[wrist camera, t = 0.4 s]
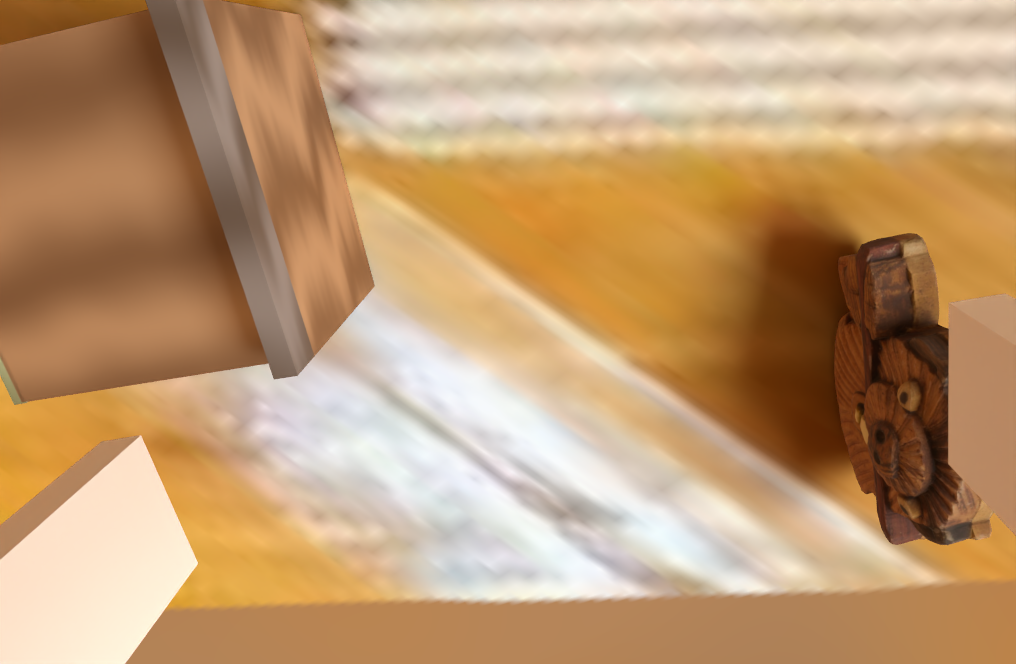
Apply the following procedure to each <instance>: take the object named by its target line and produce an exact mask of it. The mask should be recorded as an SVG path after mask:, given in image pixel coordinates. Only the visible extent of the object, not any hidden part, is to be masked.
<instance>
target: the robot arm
mask: <svg viewBox="0 0 1016 664" xmlns="http://www.w3.org/2000/svg"><path fill="white" fill-rule="evenodd" d="M948 464H949V465H950V466H951V467H952V469H953V470H954V471H955V472H956V473H957V474H958V475H959V476H960V477H961V478H962V479H963V480H964V481H965V482H966V483H967V484H968V485H969V487H970V488H971V489H972V490H973V491H974V492H975V493H976V494H977V495H978V496H979V497H980V498H981V499H982V500H983V501H984V502H985V504H986V505H987V506H988V507H989V508H990V509H991V510H992V511H993V512H994V513H995V514H996V515H997V516H998V517H999V518H1000V519H1001V520H1002V522H1003V523H1004V524H1005V525H1006V526H1007V527H1008V528H1009V529H1010V530H1011V531H1012V532H1013V533H1014V534H1015V535H1016V299H1015V298H1013V297H1011V296H1009V295H1007V294H1000V295H994V296H988V297H981V298H975V299H969V300H963V301H957V302H951V303H949V392H948ZM197 564H198V562H197V560H196V558H195V556H194V553H193V551H192V549H191V547H190V545H189V542H188V540H187V538H186V536H185V533H184V531H183V529H182V527H181V524H180V522H179V520H178V518H177V515H176V513H175V511H174V509H173V506H172V504H171V502H170V500H169V497H168V495H167V493H166V491H165V488H164V486H163V484H162V482H161V479H160V477H159V475H158V473H157V470H156V468H155V466H154V464H153V462H152V459H151V457H150V455H149V453H148V450H147V448H146V446H145V444H144V441H143V439H142V437H141V435H140V436H134V437H127V438H121V439H115V440H109V441H103V442H101V443H99V444H98V445H97V446H96V447H94V448H93V449H92V450H91V451H90V452H88V453H87V454H86V455H85V456H84V457H82V458H81V459H80V460H79V461H78V462H76V463H75V464H74V465H73V466H71V467H70V468H69V469H68V470H67V471H65V472H64V473H63V474H62V475H61V476H59V477H58V478H57V479H56V480H54V481H53V482H52V483H51V484H50V485H48V486H47V487H46V488H45V489H44V490H42V491H41V492H40V493H39V494H38V495H36V496H35V497H34V498H33V499H31V500H30V501H29V502H28V503H27V504H25V505H24V506H23V507H22V508H21V509H19V510H18V511H17V512H16V513H15V514H13V515H12V516H11V517H10V518H8V519H7V520H6V521H5V522H4V523H2V524H1V525H0V664H125V663H126V662H127V660H128V659H129V657H130V656H131V655H132V653H133V652H134V651H135V649H136V648H137V646H138V645H139V644H140V642H141V641H142V640H143V638H144V637H145V636H146V634H147V633H148V631H149V630H150V629H151V627H152V626H153V624H154V623H155V622H156V620H157V619H158V618H159V616H160V615H161V614H162V612H163V611H164V609H165V608H166V607H167V605H168V604H169V603H170V601H171V600H172V598H173V597H174V596H175V594H176V593H177V592H178V590H179V589H180V587H181V586H182V585H183V583H184V582H185V581H186V579H187V578H188V577H189V575H190V574H191V572H192V571H193V570H194V568H195V567H196V566H197Z"/></svg>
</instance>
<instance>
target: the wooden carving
mask: <svg viewBox="0 0 1016 664" xmlns="http://www.w3.org/2000/svg"><path fill="white" fill-rule="evenodd" d="M838 271H839V278H840V281H841V287H842V290H843V293H844V296H845V300H846V304H847V307H848V309H849V310H850V311H849V312H848V313H846V314H845V315H844V316H843V317H842V318H841V319H840V321H839V324H838V328H837V333H836V339H835V355H834V361H835V363H834V371H835V376H834V378H835V382H836V385H835V389H836V393H837V401H838V404H839V414H840V417H841V421H840V422H841V425H842V431H843V434H844V438H845V442H846V444H847V447H848V453H849V455H850V459H851V463H852V465H853V468H854V472H855V474H856V478H857V480H858V483H859V485H860V487H861V490H862V491H863V492H864V493H865V494H869V493H874V495H875V496H876V500H877V513H878V517H879V521H880V525H881V528H882V530H883V532H884V534H885V536H886V538H887V539H888V541H889V542H890V543H892V544H895V545H898V544H902V543H906V542H909V541H913V540H917V539H928V540H929V541H932V542H935V543H937V544H940V545H949V544H953V543H956V542H959V541H963V540H966V539H975V540H980V539H984V538H988V537H990V535H991V532H992V528H991V524H990V520H989V519H990V517H991V516H992V514H993V513H994V512H993V511H992V510H991V509H990V508H989V507H988V506H987V505H986V504H985V502H984V501H983V500H982V499H981V498H980V497H979V496H978V495H977V494H976V493H975V492H974V491H973V490H972V489H971V488H970V487H969V485H968V484H967V483H966V482H965V481H964V480H963V479H962V478H961V477H960V476H959V475H958V474H957V473H956V472H955V471H954V470H953V469H952V467H951V466H950V465H949V464H948V392H949V329H947V328H944V327H942V326H940V325H938V319H939V295H938V287H937V278H936V272H935V268H934V265H933V262H932V260H931V258H930V256H929V253H928V250H927V246H926V243H925V242H924V240H923V238H922V237H920V236H919V235H917V234H911V233H907V234H902V235H897V236H892V237H887V238H881V239H877V240H874V241H870V242H867V243H865V244H862V245H861V247H860V249H859V251H858V253H856V254H852V255H847V256H842V257H839V259H838Z"/></svg>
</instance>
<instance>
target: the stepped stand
mask: <svg viewBox="0 0 1016 664" xmlns="http://www.w3.org/2000/svg"><path fill="white" fill-rule="evenodd" d="M145 1H146V3H147V6H148V9H149V10H145V11H141V12H136V13H132V14H128V15H124V16H120V17H116V18H111V19H107V20H103V21H99V22H95V23H91V24H87V25H82V26H78V27H74V28H70V29H66V30H62V31H57V32H53V33H49V34H45V35H41V36H37V37H32V38H28V39H24V40H20V41H16V42H12V43H8V44H3V45H0V376H1V378H2V380H3V382H4V384H5V386H6V388H7V390H8V392H9V395H10V397H11V399H12V401H13V403H14V405H16V404H22V403H27V402H28V401H34V400H41V399H47V398H53V397H60V396H66V395H72V394H79V393H85V392H91V391H97V390H104V389H110V388H116V387H123V386H129V385H135V384H141V383H148V382H154V381H160V380H167V379H173V378H179V377H186V376H192V375H198V374H204V373H211V372H217V371H223V370H230V369H236V368H242V367H249V366H255V365H261V364H267V363H269V366H270V369H271V372H272V375H273V378H274V379H279V378H286V377H292V376H298V375H299V373H300V372H301V371H302V370H303V369H304V368H305V366H306V365H307V364H308V363H309V362H310V361H311V359H312V358H313V357H314V356H315V355H316V354H317V352H318V351H319V350H320V349H321V348H322V347H323V345H324V344H325V343H326V342H327V341H328V340H329V339H330V337H331V336H332V335H333V334H334V333H335V332H336V330H337V329H338V328H339V327H340V326H341V325H342V323H343V322H344V321H345V320H346V319H347V318H348V316H349V315H350V314H351V313H352V312H353V311H354V310H355V308H356V307H357V306H358V305H359V304H360V303H361V301H362V300H363V299H364V298H365V297H366V296H367V294H368V293H369V292H370V291H371V290H372V289H373V287H374V282H373V278H372V275H371V271H370V267H369V264H368V260H367V256H366V253H365V249H364V245H363V242H362V238H361V234H360V230H359V227H358V223H357V219H356V216H355V212H354V208H353V205H352V201H351V197H350V194H349V190H348V186H347V183H346V179H345V175H344V172H343V168H342V164H341V161H340V157H339V153H338V150H337V146H336V142H335V139H334V135H333V131H332V128H331V124H330V120H329V117H328V113H327V109H326V106H325V102H324V98H323V95H322V91H321V87H320V84H319V80H318V76H317V73H316V69H315V65H314V61H313V58H312V54H311V50H310V47H309V43H308V39H307V36H306V32H305V28H304V25H303V21H302V17H301V15H298V14H293V13H288V12H282V11H277V10H271V9H266V8H260V7H255V6H249V5H244V4H238V3H233V2H227V1H222V0H145Z"/></svg>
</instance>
